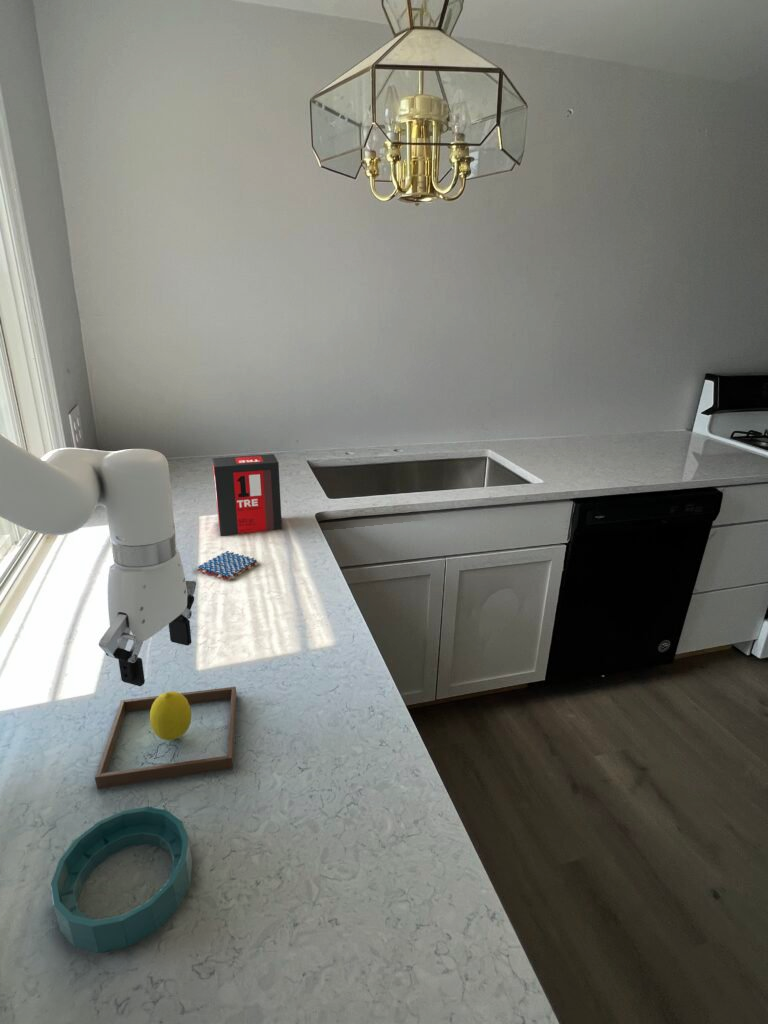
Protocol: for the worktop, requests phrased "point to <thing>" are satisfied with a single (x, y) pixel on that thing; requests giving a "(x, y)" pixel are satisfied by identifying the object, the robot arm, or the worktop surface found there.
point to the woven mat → (227, 565)
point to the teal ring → (96, 848)
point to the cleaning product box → (247, 494)
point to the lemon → (170, 715)
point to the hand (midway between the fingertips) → (158, 661)
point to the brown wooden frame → (165, 770)
